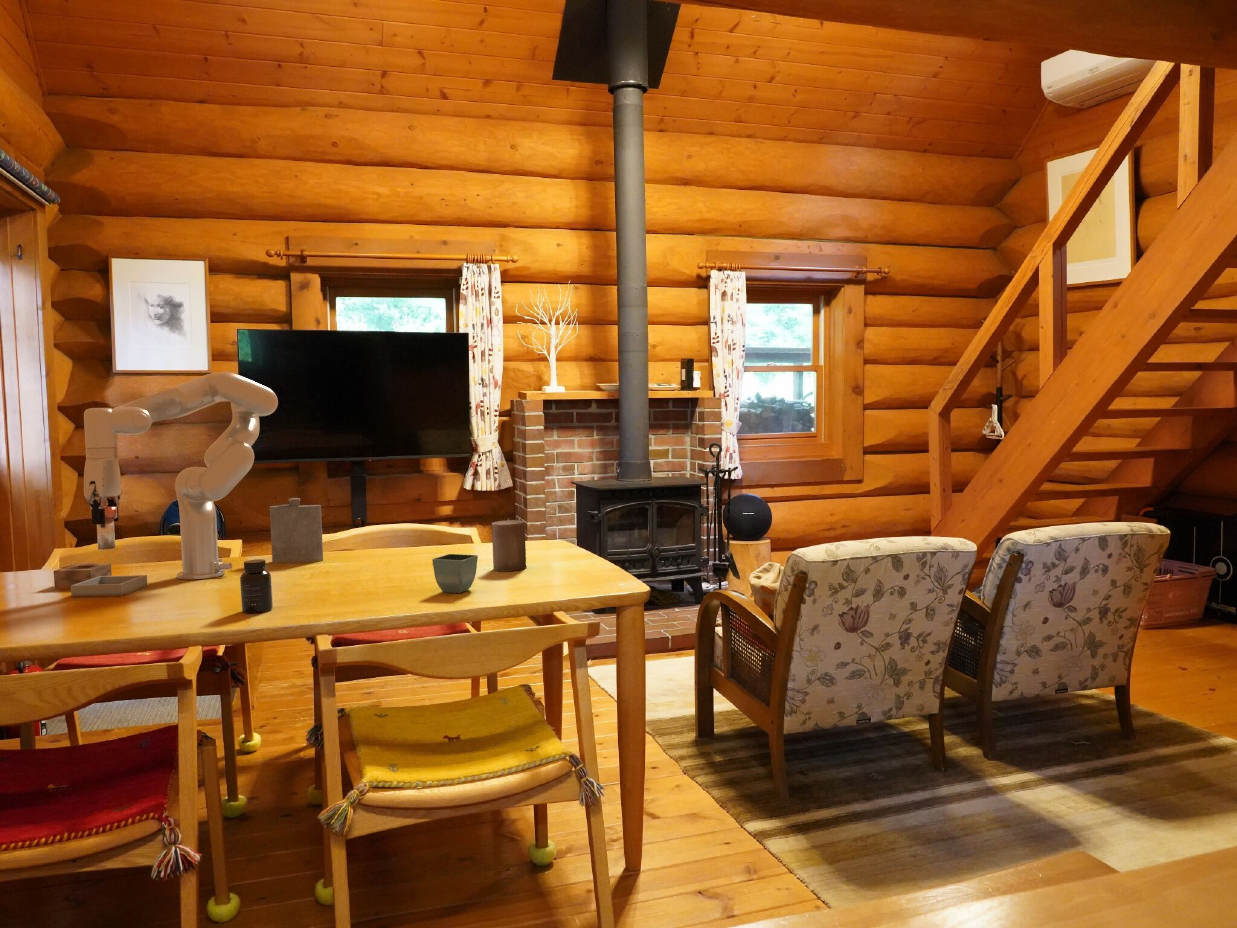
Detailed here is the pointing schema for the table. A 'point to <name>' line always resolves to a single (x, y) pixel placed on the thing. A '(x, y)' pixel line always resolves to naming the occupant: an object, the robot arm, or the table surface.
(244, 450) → the robot arm
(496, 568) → the pillar candle
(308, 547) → the hip flask
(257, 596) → the supplement bottle
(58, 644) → the table surface
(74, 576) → the block
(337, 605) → the table surface
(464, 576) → the flower pot
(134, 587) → the tray
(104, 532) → the pin
